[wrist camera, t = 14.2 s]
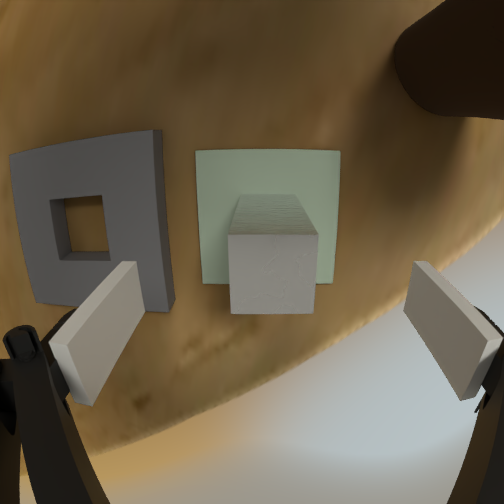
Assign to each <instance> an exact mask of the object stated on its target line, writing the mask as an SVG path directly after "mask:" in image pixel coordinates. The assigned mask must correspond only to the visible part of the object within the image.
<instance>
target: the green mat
mask: <svg viewBox="0 0 504 504" xmlns="http://www.w3.org/2000/svg"><path fill="white" fill-rule="evenodd" d="M195 154H196V180H197V202H198V220H199V237H200V252H201V266H202V279H203V284H230V282H229V258H228V232H229V229H230V226H231V223H232V220H233V217H234V214H235V211H236V208H237V205H238V202H239V199H240V196H241V194H295V195H296V196H297V198H298V200H299V201H300V203H301V205H302V207H303V208H304V210H305V212H306V213H307V215H308V217H309V218H310V220H311V222H312V224H313V225H314V227H315V229H316V231H317V232H318V234H319V240H318V257H317V272H316V284H325V283H333V273H334V262H335V250H336V237H337V222H338V205H339V183H340V151H333V150H307V149H225V150H199V151H195Z"/></svg>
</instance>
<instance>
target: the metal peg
mask: <svg viewBox="0 0 504 504" xmlns="http://www.w3.org/2000/svg"><path fill="white" fill-rule="evenodd" d="M318 240H319V234H318V232H317V231H316V229H315V227H314V225H313V224H312V222H311V220H310V218H309V217H308V215H307V213H306V212H305V210H304V208H303V207H302V205H301V203H300V201H299V200H298V198H297V196H296V195H295V194H241V196H240V199H239V202H238V205H237V208H236V211H235V214H234V217H233V220H232V223H231V226H230V229H229V232H228V258H229V282H230V304H231V314H310V313H313V310H314V298H315V285H316V272H317V257H318Z"/></svg>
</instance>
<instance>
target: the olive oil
mask: <svg viewBox="0 0 504 504" xmlns="http://www.w3.org/2000/svg"><path fill="white" fill-rule="evenodd" d="M395 65H396V70H397V73H398V76H399V78H400V81H401V83H402V85H403V86H404V88H405V90H406V91H407V93H408V94H409V95H410V96H411V98H412V99H413V100H414V101H415V102H416V103H417V104H419V105H420V106H421V107H423V108H424V109H426V110H427V111H429V112H431V113H434V114H437V115H441V116H458V117H480V118H491V119H500V120H504V0H445V1H444V2H443V3H441V4H440V5H439V6H437V7H436V8H435V9H433V10H432V11H431V12H429V13H428V14H426V15H425V16H424V17H422V18H421V19H419V20H418V21H417V22H415V23H414V24H412V25H411V26H410V27H408V28H407V29H406V30H405V31H404V32H403V33H402V34H401V36H400V37H399V39H398V41H397V44H396V48H395Z"/></svg>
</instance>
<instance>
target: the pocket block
mask: <svg viewBox="0 0 504 504" xmlns="http://www.w3.org/2000/svg"><path fill="white" fill-rule="evenodd" d="M9 158H10V171H11V181H12V189H13V197H14V204H15V211H16V217H17V223H18V229H19V234H20V239H21V244H22V249H23V253H24V258H25V262H26V266H27V270H28V274H29V278H30V282H31V286H32V289H33V293H34V296H35V300H36V303H45V304H55V305H66V306H77V307H80V305H81V304H82V303H83V302H84V301H85V300H86V299H87V298H88V297H89V296H90V294H91V293H92V292H93V291H94V290H95V289H96V288H97V287H98V286H99V285H100V284H101V283H102V282H103V281H104V279H105V278H106V277H107V276H108V275H109V274H110V273H111V272H112V271H113V270H114V269H115V268H116V267H117V266H118V265H119V264H120V263H121V262H122V261H136V262H137V268H138V275H139V281H140V286H141V292H142V298H143V303H144V309H145V311H152V312H170V309H171V307H172V305H173V303H174V301H175V292H174V284H173V276H172V267H171V258H170V248H169V237H168V226H167V214H166V201H165V186H164V169H163V148H162V130H146V131H137V132H128V133H121V134H113V135H106V136H100V137H93V138H87V139H81V140H76V141H70V142H65V143H60V144H55V145H50V146H45V147H40V148H36V149H31V150H27V151H23V152H19V153H15V154H11V155H9ZM95 195H102V200H103V209H104V217H105V225H106V232H107V239H108V246H109V252H72V250H71V244H70V239H69V233H68V227H67V220H66V213H65V206H64V198H72V197H83V196H95Z"/></svg>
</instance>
